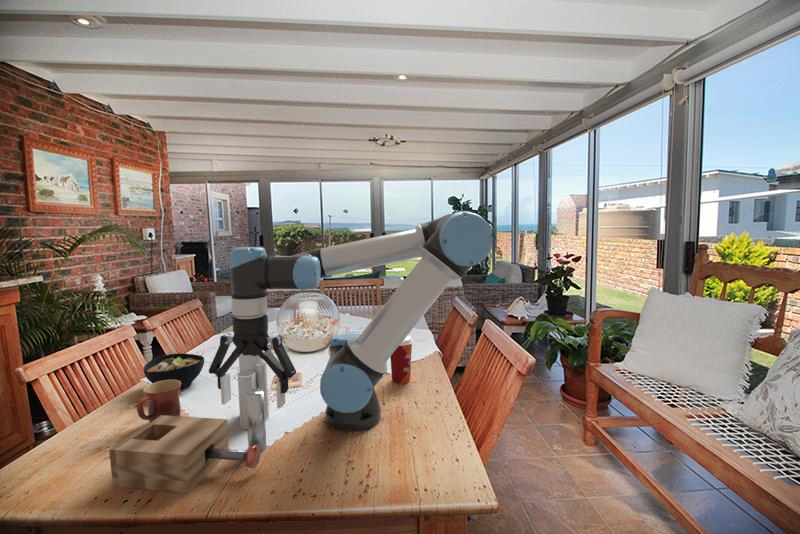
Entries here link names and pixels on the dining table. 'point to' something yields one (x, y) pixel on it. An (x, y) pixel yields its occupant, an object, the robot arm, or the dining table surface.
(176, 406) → the mug
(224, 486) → the dining table surface
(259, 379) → the vase
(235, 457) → the lock pin
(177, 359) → the bowl
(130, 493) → the dining table surface
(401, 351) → the coffee cup
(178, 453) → the dock
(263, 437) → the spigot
